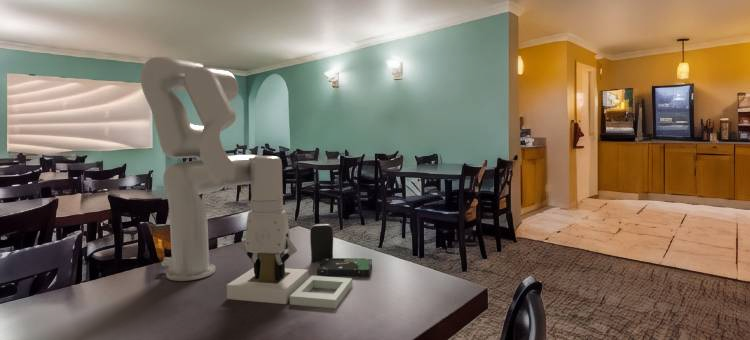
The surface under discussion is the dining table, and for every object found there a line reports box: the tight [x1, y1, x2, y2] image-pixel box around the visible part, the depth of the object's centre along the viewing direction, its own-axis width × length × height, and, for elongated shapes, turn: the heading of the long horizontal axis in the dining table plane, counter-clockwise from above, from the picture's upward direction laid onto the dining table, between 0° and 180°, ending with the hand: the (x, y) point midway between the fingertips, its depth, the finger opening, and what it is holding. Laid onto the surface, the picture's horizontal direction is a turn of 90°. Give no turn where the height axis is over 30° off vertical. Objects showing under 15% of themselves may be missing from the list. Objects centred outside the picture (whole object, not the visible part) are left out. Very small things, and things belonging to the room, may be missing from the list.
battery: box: [309, 223, 334, 263], centre depth 127 cm, size 7×4×11 cm, turn 99°
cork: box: [258, 253, 281, 284], centre depth 103 cm, size 6×6×11 cm
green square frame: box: [289, 275, 353, 310], centre depth 100 cm, size 11×14×2 cm
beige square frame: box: [226, 267, 309, 305], centre depth 103 cm, size 16×14×4 cm
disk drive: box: [316, 257, 373, 278], centre depth 118 cm, size 10×3×15 cm
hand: (269, 277), depth 103 cm, fingers open, 4 cm apart
